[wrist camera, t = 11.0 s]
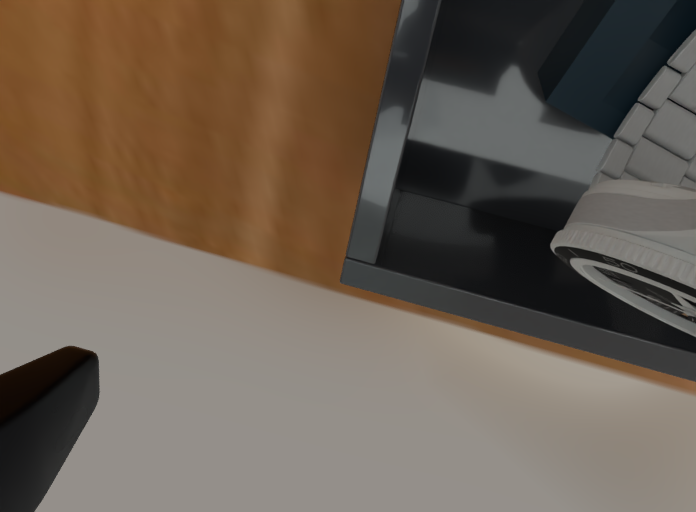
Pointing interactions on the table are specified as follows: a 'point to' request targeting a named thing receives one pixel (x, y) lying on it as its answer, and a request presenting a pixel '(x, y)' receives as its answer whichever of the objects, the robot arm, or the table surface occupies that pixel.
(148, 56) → the table surface
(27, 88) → the table surface
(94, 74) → the table surface
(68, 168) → the table surface
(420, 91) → the basin
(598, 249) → the watch
